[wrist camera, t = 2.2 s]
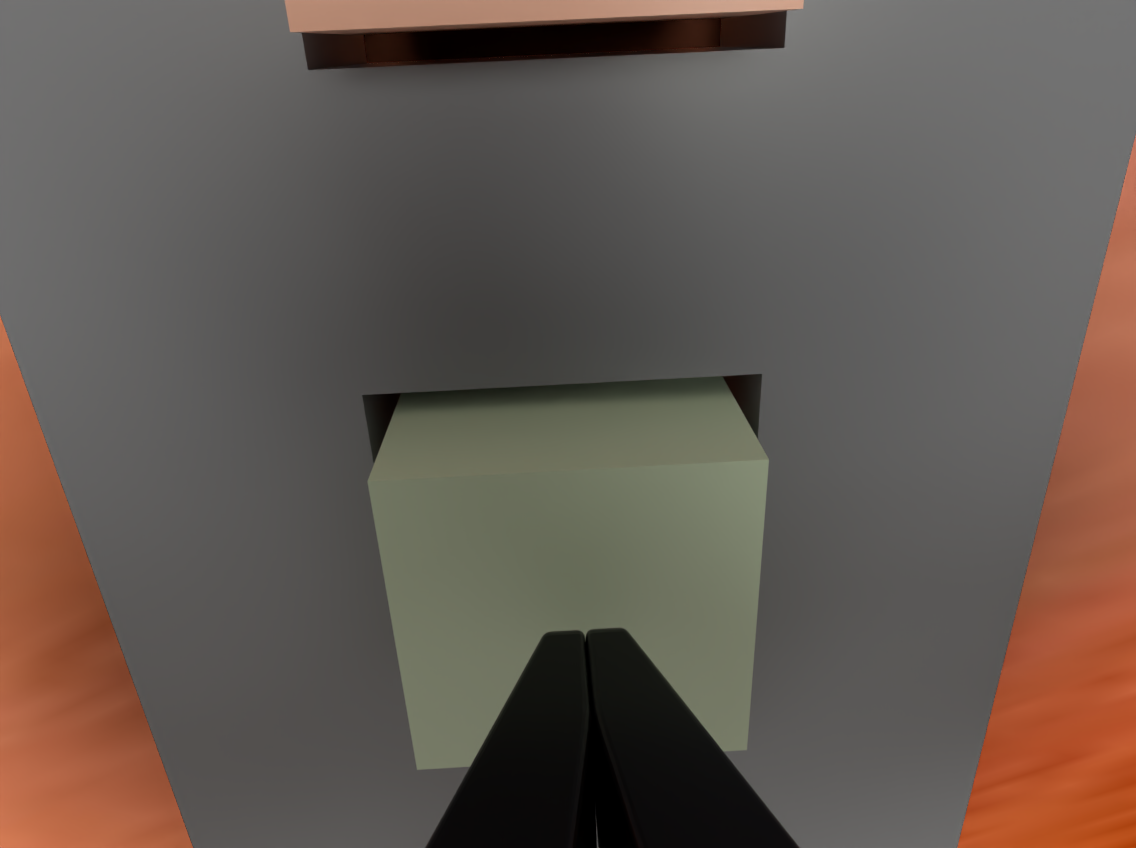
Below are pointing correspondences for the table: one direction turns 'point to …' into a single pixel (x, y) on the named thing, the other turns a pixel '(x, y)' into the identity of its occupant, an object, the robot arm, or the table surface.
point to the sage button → (568, 543)
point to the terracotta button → (505, 13)
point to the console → (556, 354)
